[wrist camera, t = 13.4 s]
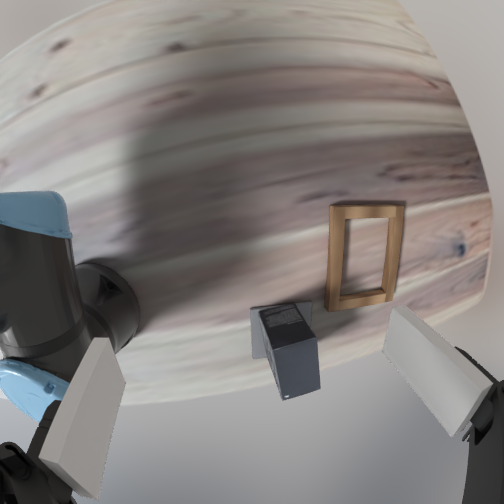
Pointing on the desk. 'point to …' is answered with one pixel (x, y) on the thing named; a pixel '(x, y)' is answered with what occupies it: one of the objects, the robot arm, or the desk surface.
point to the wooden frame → (337, 246)
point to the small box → (290, 350)
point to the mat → (256, 331)
